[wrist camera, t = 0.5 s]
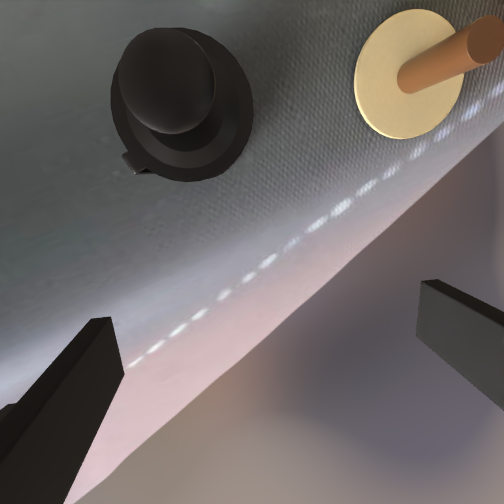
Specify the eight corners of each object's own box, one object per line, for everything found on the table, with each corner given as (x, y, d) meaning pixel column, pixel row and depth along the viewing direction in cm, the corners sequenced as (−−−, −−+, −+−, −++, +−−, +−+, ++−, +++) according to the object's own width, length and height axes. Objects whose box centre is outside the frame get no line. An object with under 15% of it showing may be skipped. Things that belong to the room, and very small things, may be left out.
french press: (217, 75, 33) (209, -124, 11) (259, 149, 35) (322, 114, 13) (132, 131, 33) (-40, 54, 11) (180, 200, 36) (116, 246, 14)
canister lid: (352, 17, 32) (417, -59, 22) (463, 11, 34) (577, -64, 23) (350, 143, 36) (405, 132, 26) (450, 135, 37) (543, 120, 27)
